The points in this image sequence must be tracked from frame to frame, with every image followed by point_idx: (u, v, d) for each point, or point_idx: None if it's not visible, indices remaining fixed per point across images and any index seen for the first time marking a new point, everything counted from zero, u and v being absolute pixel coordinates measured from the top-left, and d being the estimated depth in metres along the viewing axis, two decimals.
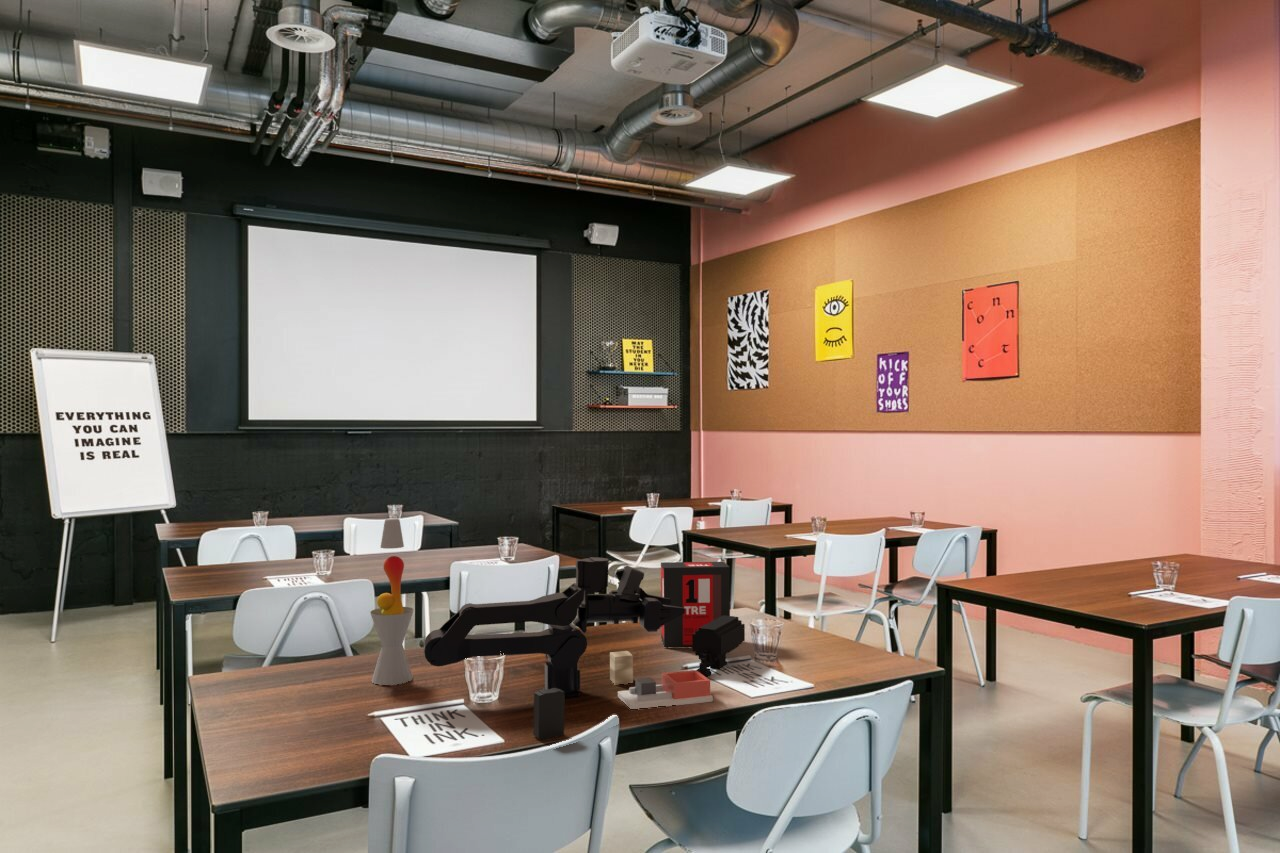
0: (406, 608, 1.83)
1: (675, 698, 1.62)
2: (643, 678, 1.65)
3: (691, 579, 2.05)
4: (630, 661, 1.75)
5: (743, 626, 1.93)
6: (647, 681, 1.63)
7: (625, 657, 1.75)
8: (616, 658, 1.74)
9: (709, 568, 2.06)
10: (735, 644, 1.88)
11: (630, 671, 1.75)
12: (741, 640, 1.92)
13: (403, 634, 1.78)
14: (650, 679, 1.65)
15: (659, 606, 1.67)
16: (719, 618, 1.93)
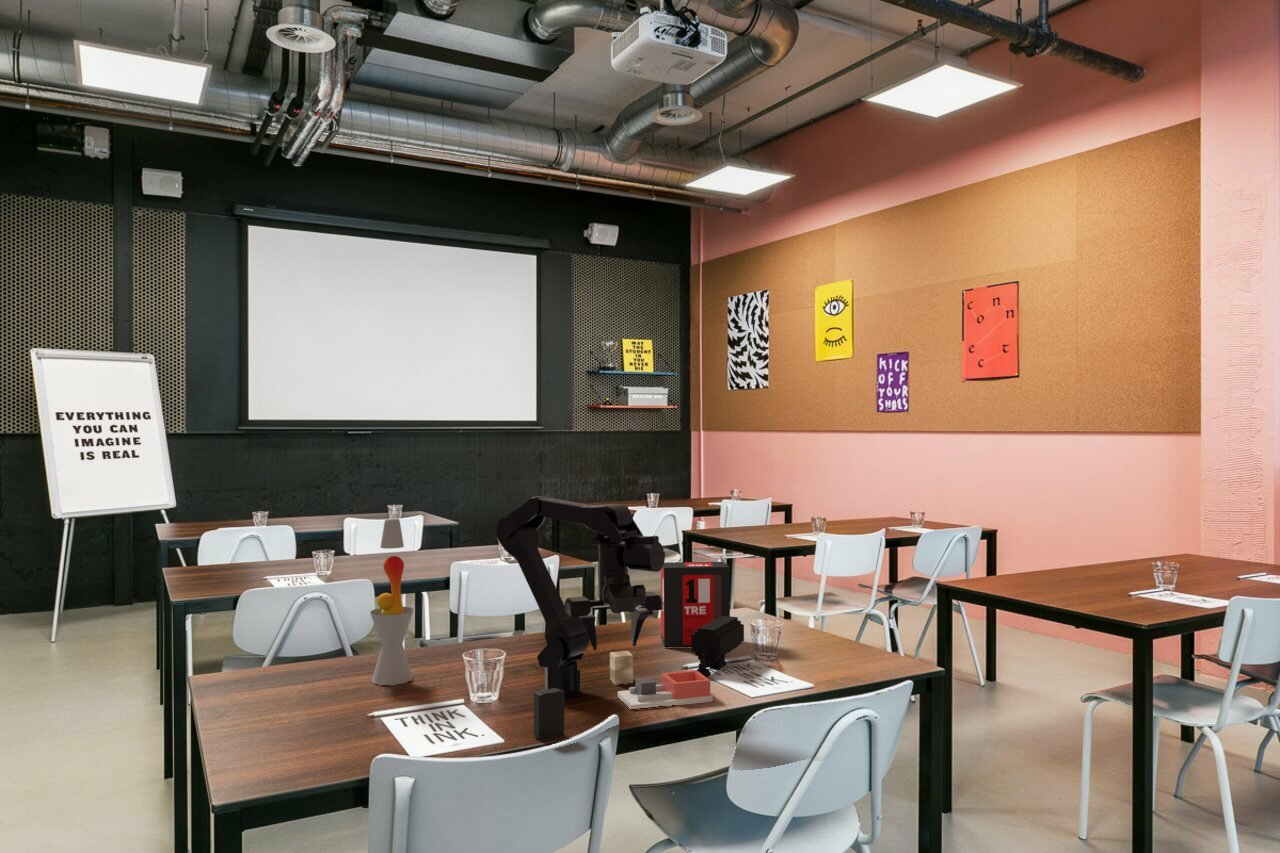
0: (406, 608, 1.83)
1: (675, 698, 1.62)
2: (643, 678, 1.65)
3: (691, 579, 2.05)
4: (630, 661, 1.75)
5: (742, 626, 1.93)
6: (647, 681, 1.63)
7: (625, 657, 1.75)
8: (616, 658, 1.74)
9: (709, 568, 2.06)
10: (734, 644, 1.88)
11: (630, 671, 1.75)
12: (740, 640, 1.91)
13: (403, 634, 1.78)
14: (650, 679, 1.65)
15: (579, 618, 1.58)
16: (718, 618, 1.92)
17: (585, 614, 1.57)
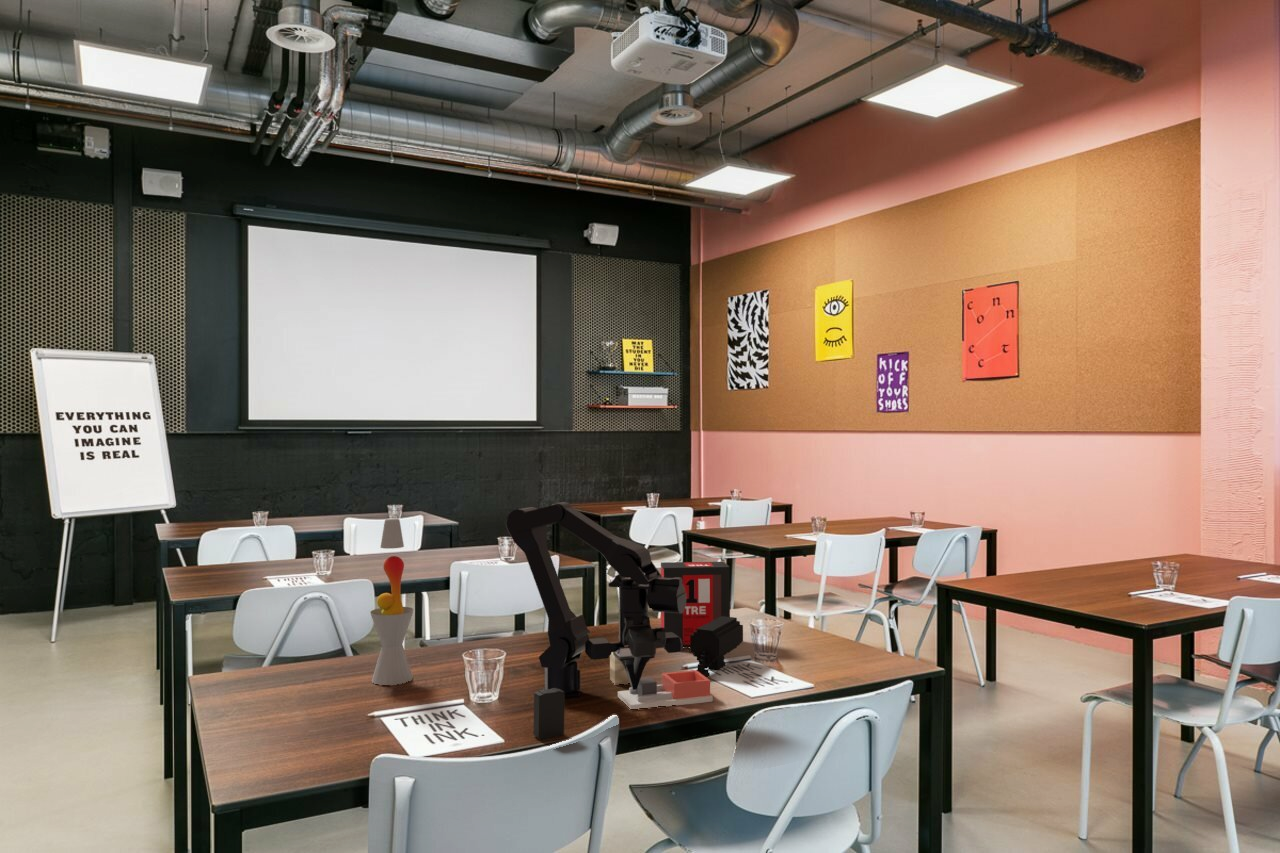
0: (406, 608, 1.83)
1: (675, 698, 1.62)
2: (644, 678, 1.65)
3: (691, 579, 2.05)
4: None
5: (741, 627, 1.92)
6: (648, 681, 1.63)
7: None
8: (616, 658, 1.74)
9: (709, 568, 2.06)
10: (733, 645, 1.87)
11: None
12: (739, 641, 1.91)
13: (403, 634, 1.78)
14: (651, 679, 1.65)
15: (618, 658, 1.60)
16: (717, 619, 1.92)
17: (605, 657, 1.58)
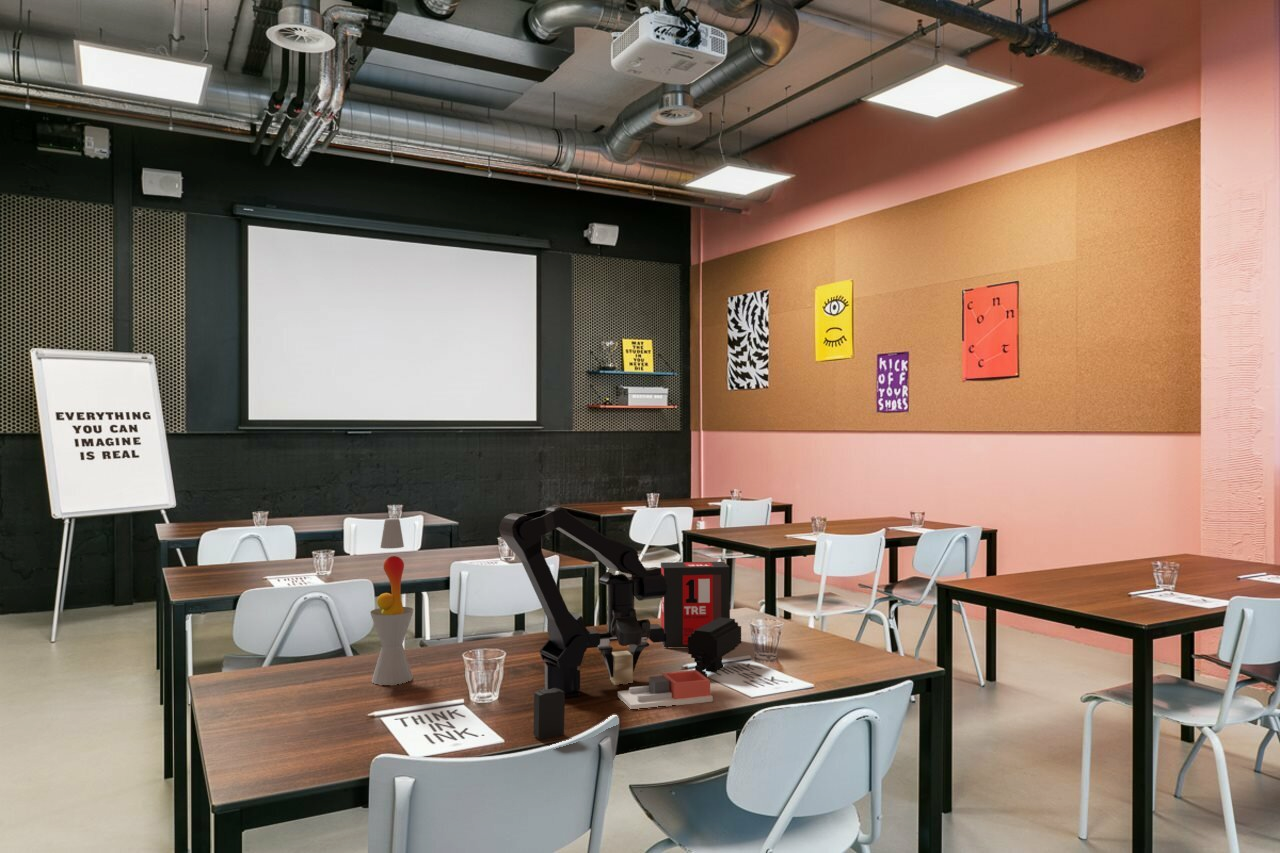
0: (406, 608, 1.83)
1: (675, 698, 1.62)
2: (656, 677, 1.66)
3: (691, 579, 2.05)
4: (630, 661, 1.75)
5: (740, 628, 1.91)
6: (660, 680, 1.64)
7: (625, 657, 1.75)
8: (616, 658, 1.74)
9: (709, 568, 2.06)
10: (731, 646, 1.86)
11: (630, 671, 1.75)
12: (737, 642, 1.90)
13: (403, 634, 1.78)
14: (664, 677, 1.65)
15: (598, 648, 1.74)
16: (715, 620, 1.91)
17: (595, 646, 1.72)
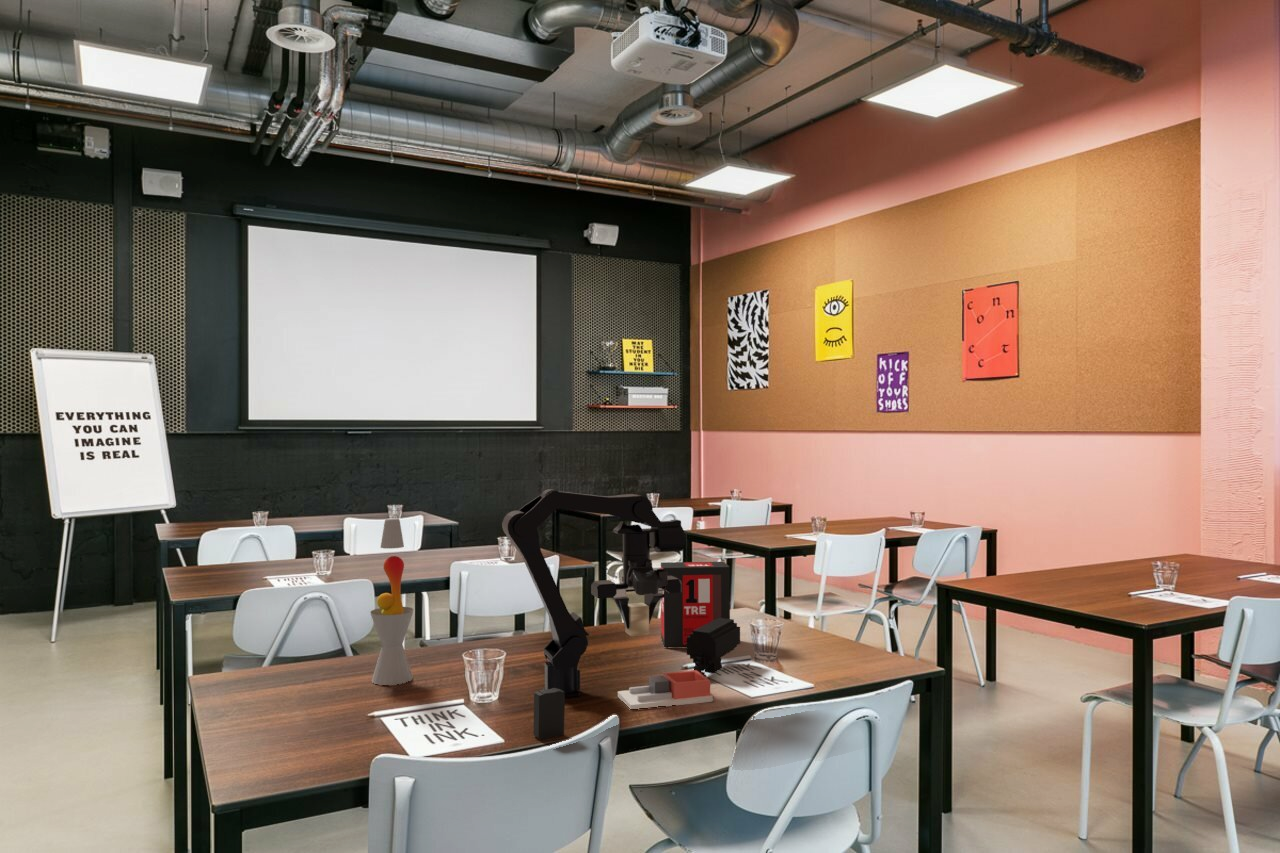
0: (406, 608, 1.83)
1: (675, 698, 1.62)
2: (656, 677, 1.66)
3: (691, 579, 2.05)
4: (646, 612, 1.73)
5: (738, 629, 1.90)
6: (660, 680, 1.64)
7: (641, 608, 1.73)
8: (632, 609, 1.72)
9: (709, 568, 2.06)
10: (730, 647, 1.86)
11: (646, 622, 1.73)
12: (736, 643, 1.89)
13: (403, 634, 1.78)
14: (664, 677, 1.65)
15: (614, 599, 1.71)
16: (714, 621, 1.90)
17: (611, 596, 1.70)
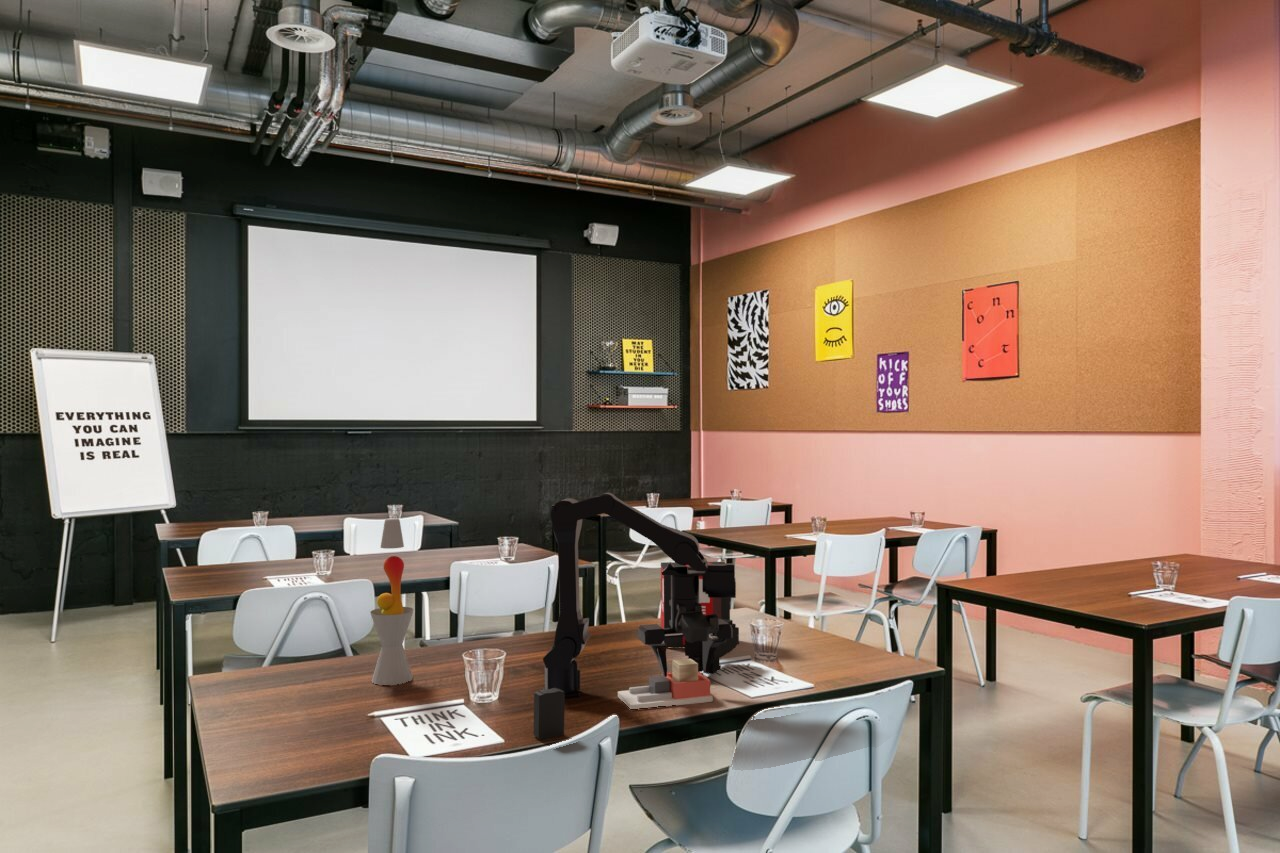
0: (406, 608, 1.83)
1: (675, 698, 1.62)
2: (656, 677, 1.66)
3: None
4: (695, 670, 1.65)
5: (737, 630, 1.89)
6: (660, 680, 1.64)
7: (690, 665, 1.65)
8: (681, 666, 1.64)
9: None
10: (729, 648, 1.85)
11: (695, 680, 1.65)
12: (735, 644, 1.88)
13: (403, 634, 1.78)
14: (664, 677, 1.65)
15: (651, 646, 1.62)
16: None
17: (659, 642, 1.62)
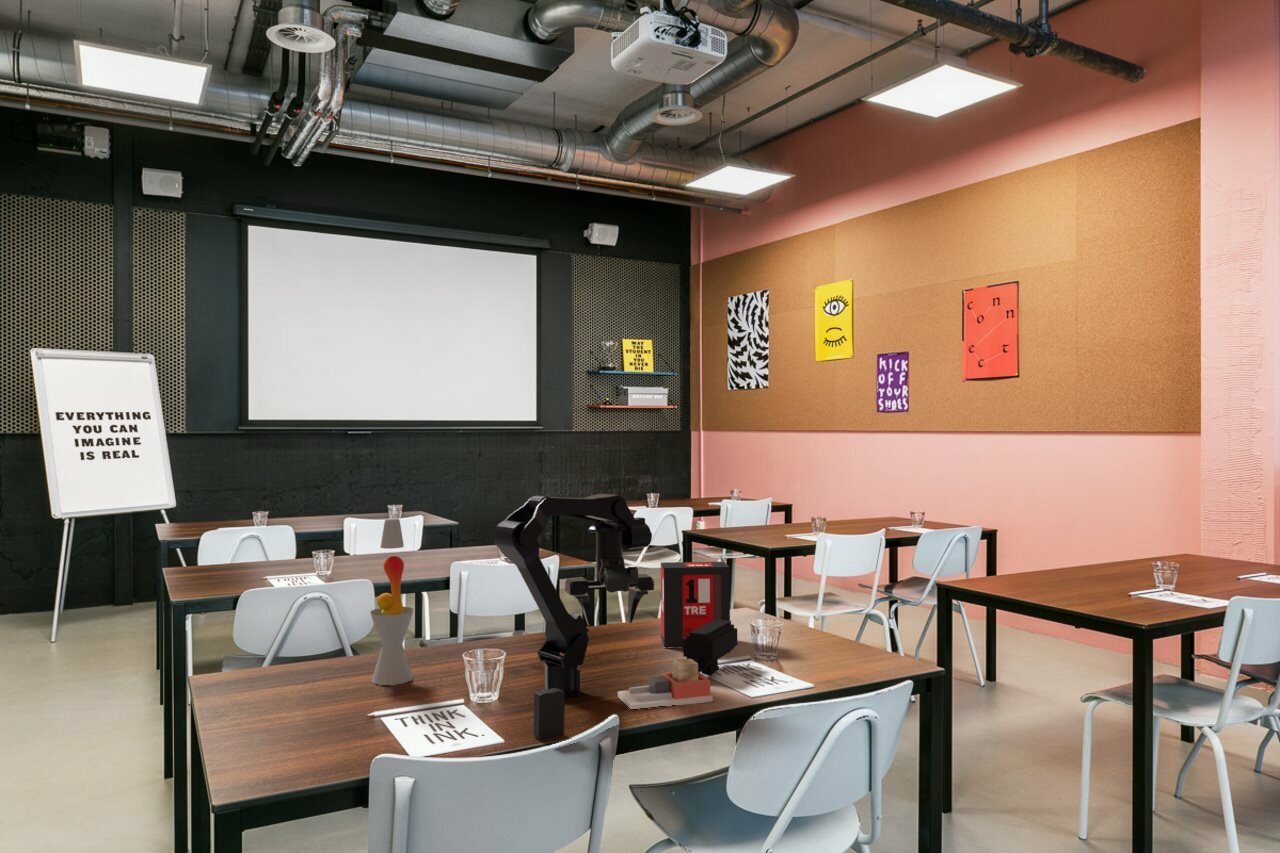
0: (406, 608, 1.83)
1: (675, 698, 1.62)
2: (656, 677, 1.66)
3: (691, 579, 2.05)
4: (695, 670, 1.65)
5: (736, 630, 1.89)
6: (660, 680, 1.64)
7: (690, 665, 1.65)
8: (681, 666, 1.64)
9: (709, 568, 2.06)
10: (727, 649, 1.84)
11: (695, 680, 1.65)
12: (734, 645, 1.87)
13: (403, 634, 1.78)
14: (664, 677, 1.65)
15: (575, 597, 1.74)
16: (711, 622, 1.88)
17: (583, 593, 1.74)
